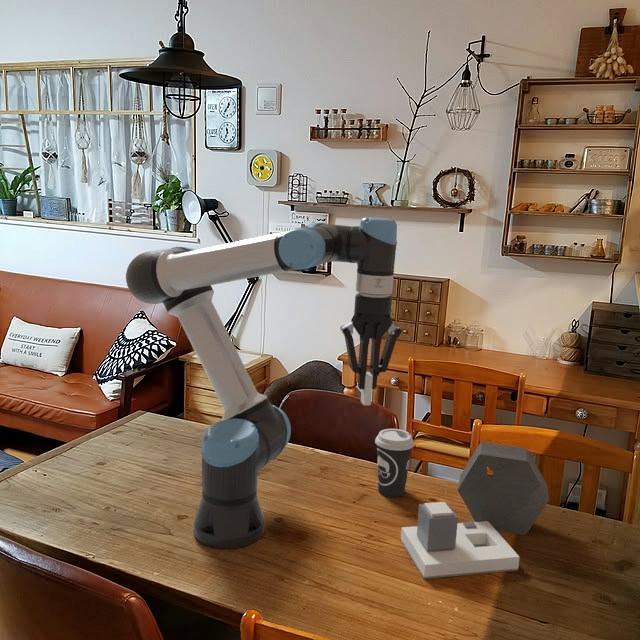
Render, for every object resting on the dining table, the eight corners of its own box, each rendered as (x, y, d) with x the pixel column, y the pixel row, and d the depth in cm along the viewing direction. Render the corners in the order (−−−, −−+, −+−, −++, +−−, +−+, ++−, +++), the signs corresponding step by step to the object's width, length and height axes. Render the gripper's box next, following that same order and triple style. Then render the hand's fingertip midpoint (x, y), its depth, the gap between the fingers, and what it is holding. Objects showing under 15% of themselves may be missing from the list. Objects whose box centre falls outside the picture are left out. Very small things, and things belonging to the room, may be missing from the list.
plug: (425, 564, 129) (429, 516, 127) (415, 548, 135) (419, 501, 132) (453, 562, 130) (458, 514, 128) (442, 545, 136) (446, 499, 134)
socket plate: (423, 578, 125) (425, 563, 124) (400, 540, 138) (401, 525, 138) (518, 570, 129) (519, 554, 128) (486, 533, 142) (488, 519, 142)
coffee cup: (409, 502, 155) (413, 444, 152) (369, 497, 157) (373, 439, 154) (411, 485, 164) (415, 429, 161) (374, 480, 166) (377, 425, 163)
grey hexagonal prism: (558, 505, 146) (514, 427, 146) (561, 521, 139) (515, 439, 139) (491, 531, 152) (448, 455, 152) (490, 548, 145) (445, 469, 144)
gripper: (347, 296, 127) (339, 409, 132) (410, 298, 130) (400, 408, 135) (338, 290, 134) (332, 397, 139) (398, 291, 137) (389, 396, 142)
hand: (365, 403), depth 137 cm, fingers closed
